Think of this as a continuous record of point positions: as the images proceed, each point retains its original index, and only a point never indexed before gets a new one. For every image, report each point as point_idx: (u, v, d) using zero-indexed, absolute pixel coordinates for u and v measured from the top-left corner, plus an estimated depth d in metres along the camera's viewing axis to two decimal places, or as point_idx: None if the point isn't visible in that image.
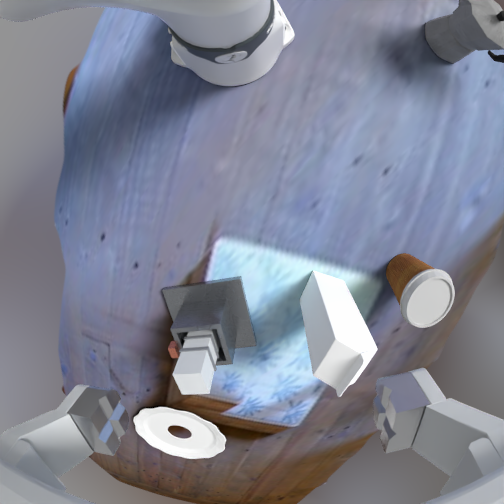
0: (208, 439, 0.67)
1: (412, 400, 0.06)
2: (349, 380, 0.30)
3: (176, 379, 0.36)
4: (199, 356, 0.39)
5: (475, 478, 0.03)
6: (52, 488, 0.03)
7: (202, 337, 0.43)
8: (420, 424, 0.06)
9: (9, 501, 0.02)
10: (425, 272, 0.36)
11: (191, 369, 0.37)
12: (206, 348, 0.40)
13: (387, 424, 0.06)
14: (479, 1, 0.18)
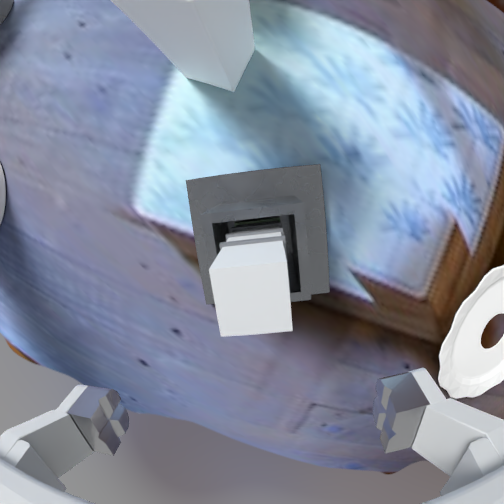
0: None
1: (412, 400, 0.06)
2: None
3: (237, 332, 0.16)
4: None
5: (475, 478, 0.03)
6: (52, 488, 0.03)
7: None
8: (420, 424, 0.06)
9: (9, 501, 0.02)
10: None
11: None
12: (220, 247, 0.20)
13: (387, 424, 0.06)
14: None
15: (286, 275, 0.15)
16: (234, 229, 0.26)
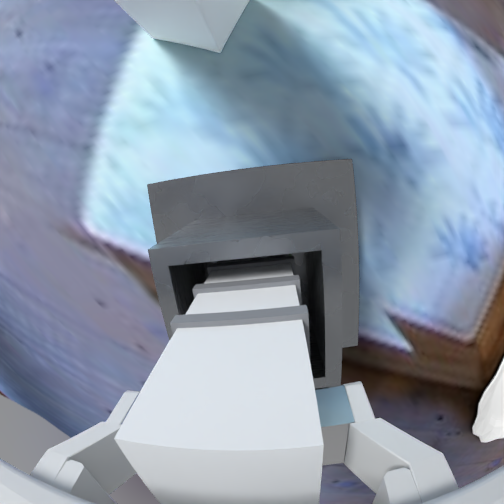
0: None
1: (336, 416, 0.06)
2: None
3: None
4: None
5: None
6: (52, 488, 0.03)
7: None
8: (347, 441, 0.06)
9: (9, 501, 0.02)
10: None
11: None
12: None
13: None
14: None
15: (317, 465, 0.04)
16: (213, 269, 0.15)
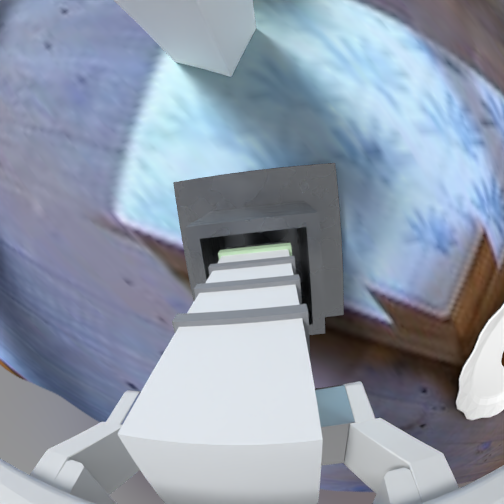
0: None
1: (336, 416, 0.06)
2: None
3: None
4: None
5: None
6: (52, 488, 0.03)
7: None
8: (347, 441, 0.06)
9: (9, 501, 0.02)
10: None
11: None
12: None
13: None
14: None
15: (317, 460, 0.05)
16: (215, 269, 0.15)
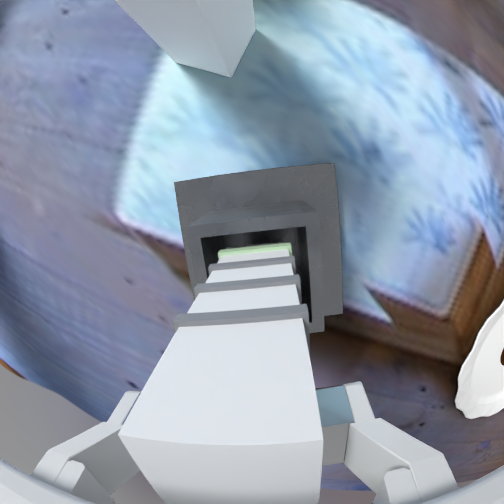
0: None
1: (336, 416, 0.06)
2: None
3: None
4: None
5: None
6: (52, 488, 0.03)
7: None
8: (347, 441, 0.06)
9: (9, 501, 0.02)
10: None
11: None
12: None
13: None
14: None
15: (317, 460, 0.05)
16: (214, 269, 0.15)
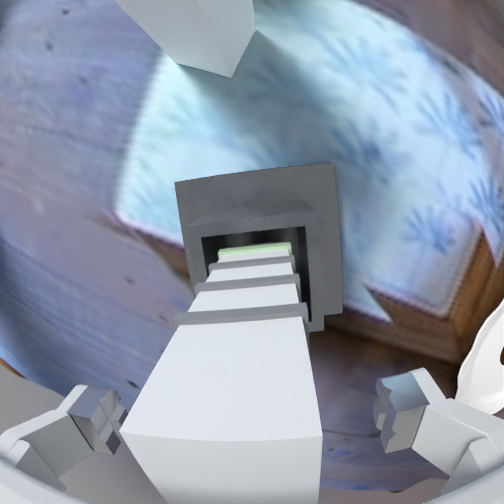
0: None
1: (412, 400, 0.06)
2: None
3: None
4: None
5: (475, 478, 0.03)
6: (52, 488, 0.03)
7: None
8: (420, 425, 0.06)
9: (9, 501, 0.02)
10: None
11: None
12: None
13: (387, 424, 0.06)
14: None
15: (317, 457, 0.05)
16: (215, 268, 0.15)
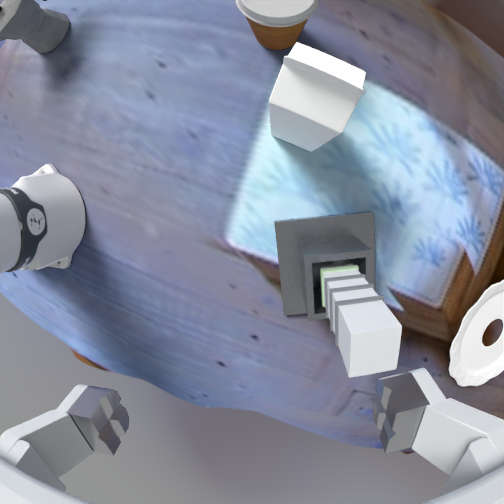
0: None
1: (412, 400, 0.06)
2: (330, 75, 0.17)
3: (361, 373, 0.20)
4: (341, 322, 0.23)
5: (475, 478, 0.03)
6: (52, 488, 0.03)
7: (331, 304, 0.28)
8: (419, 424, 0.06)
9: (9, 501, 0.02)
10: (238, 4, 0.24)
11: (348, 345, 0.21)
12: (336, 305, 0.25)
13: (387, 424, 0.06)
14: None
15: (400, 334, 0.19)
16: (328, 281, 0.30)
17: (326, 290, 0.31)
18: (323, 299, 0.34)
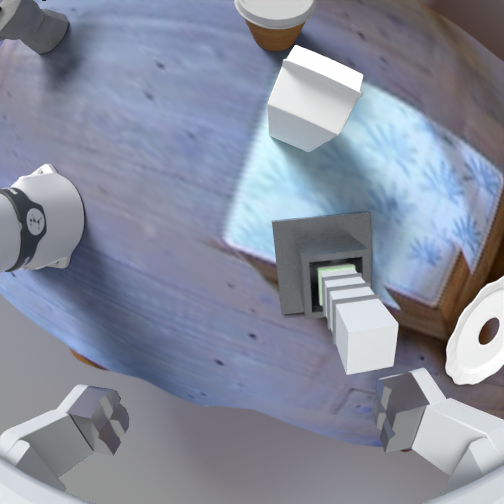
0: None
1: (412, 400, 0.06)
2: (328, 78, 0.17)
3: (358, 370, 0.21)
4: (338, 320, 0.24)
5: (475, 478, 0.03)
6: (52, 488, 0.03)
7: (328, 302, 0.28)
8: (420, 424, 0.06)
9: (9, 501, 0.02)
10: (237, 6, 0.25)
11: (345, 342, 0.21)
12: (333, 304, 0.25)
13: (387, 424, 0.06)
14: None
15: (396, 332, 0.20)
16: (325, 279, 0.31)
17: (323, 289, 0.31)
18: (320, 298, 0.34)
